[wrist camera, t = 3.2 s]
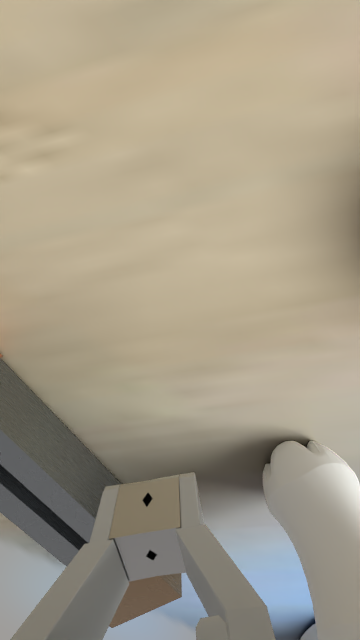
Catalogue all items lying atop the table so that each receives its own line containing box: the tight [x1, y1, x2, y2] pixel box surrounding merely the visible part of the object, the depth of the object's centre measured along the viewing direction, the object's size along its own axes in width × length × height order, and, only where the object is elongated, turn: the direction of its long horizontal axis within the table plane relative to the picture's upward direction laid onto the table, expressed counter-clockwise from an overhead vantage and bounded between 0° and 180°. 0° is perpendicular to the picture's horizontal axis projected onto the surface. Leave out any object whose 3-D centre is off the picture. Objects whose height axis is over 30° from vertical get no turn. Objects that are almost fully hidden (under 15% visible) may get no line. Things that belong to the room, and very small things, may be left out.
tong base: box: [0, 464, 182, 628], centre depth 20 cm, size 26×7×5 cm, turn 34°
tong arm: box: [0, 354, 121, 543], centre depth 19 cm, size 21×3×4 cm, turn 33°
